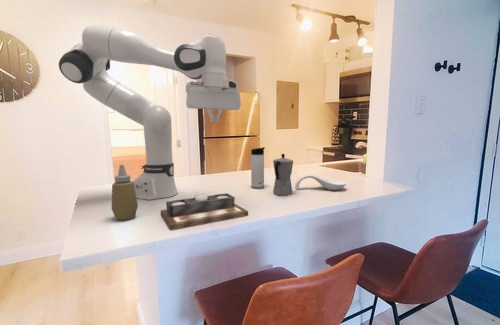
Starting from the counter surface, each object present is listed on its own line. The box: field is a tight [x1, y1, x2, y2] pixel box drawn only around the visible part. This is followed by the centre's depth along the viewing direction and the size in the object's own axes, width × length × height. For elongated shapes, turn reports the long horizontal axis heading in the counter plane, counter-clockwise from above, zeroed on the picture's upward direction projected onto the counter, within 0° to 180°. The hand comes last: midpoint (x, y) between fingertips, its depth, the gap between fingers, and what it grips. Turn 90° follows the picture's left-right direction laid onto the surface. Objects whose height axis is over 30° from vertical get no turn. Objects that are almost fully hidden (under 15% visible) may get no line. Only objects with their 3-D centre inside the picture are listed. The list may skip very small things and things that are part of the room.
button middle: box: [194, 193, 209, 202], centre depth 93 cm, size 4×4×3 cm
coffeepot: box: [272, 153, 294, 197], centre depth 118 cm, size 15×9×18 cm, turn 153°
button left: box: [172, 202, 185, 206], centre depth 90 cm, size 4×4×3 cm
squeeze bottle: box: [111, 164, 139, 221], centre depth 88 cm, size 8×8×18 cm
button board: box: [160, 192, 249, 231], centre depth 91 cm, size 26×16×5 cm, turn 119°
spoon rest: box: [294, 174, 347, 191], centre depth 127 cm, size 24×12×7 cm, turn 89°
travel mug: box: [250, 147, 266, 190], centre depth 130 cm, size 6×7×20 cm
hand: (214, 121), depth 98 cm, fingers closed
